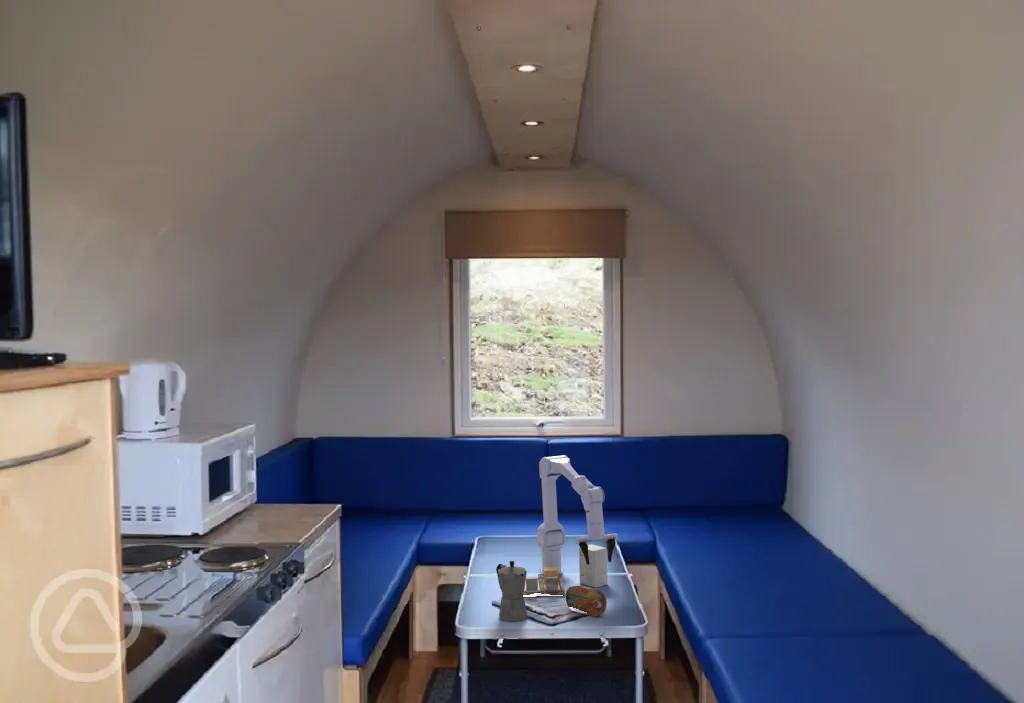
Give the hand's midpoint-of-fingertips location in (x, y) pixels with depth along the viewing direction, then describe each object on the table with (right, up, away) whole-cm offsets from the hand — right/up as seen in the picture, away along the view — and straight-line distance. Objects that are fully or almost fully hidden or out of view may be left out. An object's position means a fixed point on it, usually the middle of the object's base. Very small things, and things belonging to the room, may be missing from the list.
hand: (598, 562), depth 301 cm
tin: (-6, -11, -21) cm, 25 cm away
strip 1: (-23, -10, +6) cm, 26 cm away
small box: (-1, -10, +11) cm, 15 cm away
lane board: (-20, -11, +7) cm, 23 cm away
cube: (-16, -9, +9) cm, 20 cm away
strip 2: (-16, -9, +6) cm, 20 cm away
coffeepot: (-30, -12, -23) cm, 39 cm away
